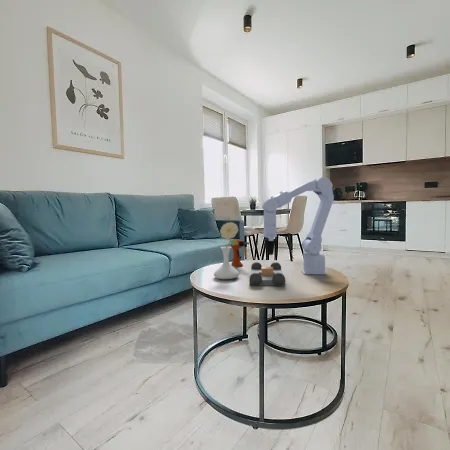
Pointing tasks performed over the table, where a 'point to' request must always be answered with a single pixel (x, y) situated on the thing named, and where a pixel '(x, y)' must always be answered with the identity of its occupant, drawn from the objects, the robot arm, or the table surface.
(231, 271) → the flower in vase
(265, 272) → the block
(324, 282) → the table surface
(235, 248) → the toy drill
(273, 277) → the chassis
